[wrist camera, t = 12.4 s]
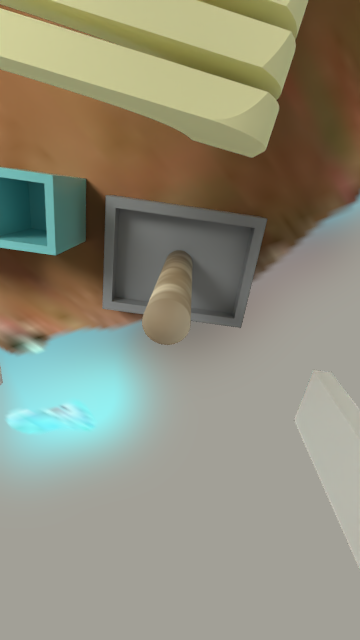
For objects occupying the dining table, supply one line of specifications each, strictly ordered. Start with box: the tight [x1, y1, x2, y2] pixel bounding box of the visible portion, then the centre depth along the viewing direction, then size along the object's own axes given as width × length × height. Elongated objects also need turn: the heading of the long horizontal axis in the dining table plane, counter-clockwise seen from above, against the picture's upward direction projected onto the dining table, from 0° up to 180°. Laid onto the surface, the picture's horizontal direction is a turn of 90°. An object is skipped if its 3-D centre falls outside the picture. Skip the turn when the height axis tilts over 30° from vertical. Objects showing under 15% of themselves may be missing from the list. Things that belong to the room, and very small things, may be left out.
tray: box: [103, 195, 267, 328], centre depth 33 cm, size 16×12×3 cm
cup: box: [0, 167, 86, 255], centre depth 28 cm, size 6×6×8 cm
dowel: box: [142, 250, 193, 345], centre depth 26 cm, size 3×3×16 cm
